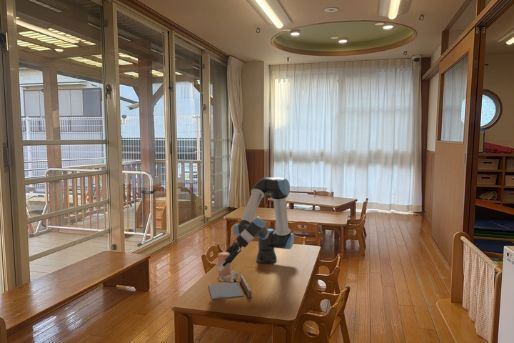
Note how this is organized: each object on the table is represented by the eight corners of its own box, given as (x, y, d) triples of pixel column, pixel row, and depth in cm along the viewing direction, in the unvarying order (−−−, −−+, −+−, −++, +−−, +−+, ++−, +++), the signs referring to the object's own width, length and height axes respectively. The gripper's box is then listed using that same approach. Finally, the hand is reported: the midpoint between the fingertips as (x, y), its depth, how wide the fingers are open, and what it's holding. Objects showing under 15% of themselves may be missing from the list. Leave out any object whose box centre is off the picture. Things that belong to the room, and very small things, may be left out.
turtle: (241, 283, 239) (242, 267, 241) (238, 283, 230) (240, 267, 232) (218, 281, 241) (219, 266, 243) (214, 282, 232) (216, 266, 234)
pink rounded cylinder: (217, 272, 220) (217, 252, 219) (229, 271, 222) (228, 251, 221) (219, 276, 213) (218, 256, 212) (231, 275, 215) (230, 255, 214)
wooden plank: (240, 281, 234) (240, 274, 234) (242, 280, 235) (242, 274, 234) (248, 297, 209) (248, 291, 209) (251, 297, 209) (251, 290, 209)
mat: (208, 286, 227) (208, 285, 227) (237, 283, 231) (237, 282, 231) (212, 299, 207) (212, 298, 207) (243, 296, 211) (243, 295, 211)
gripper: (252, 247, 210) (225, 277, 207) (245, 238, 229) (220, 266, 227) (243, 238, 208) (215, 269, 206) (237, 230, 227) (211, 258, 225)
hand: (218, 267), depth 216 cm, fingers closed on pink rounded cylinder, 7 cm apart
